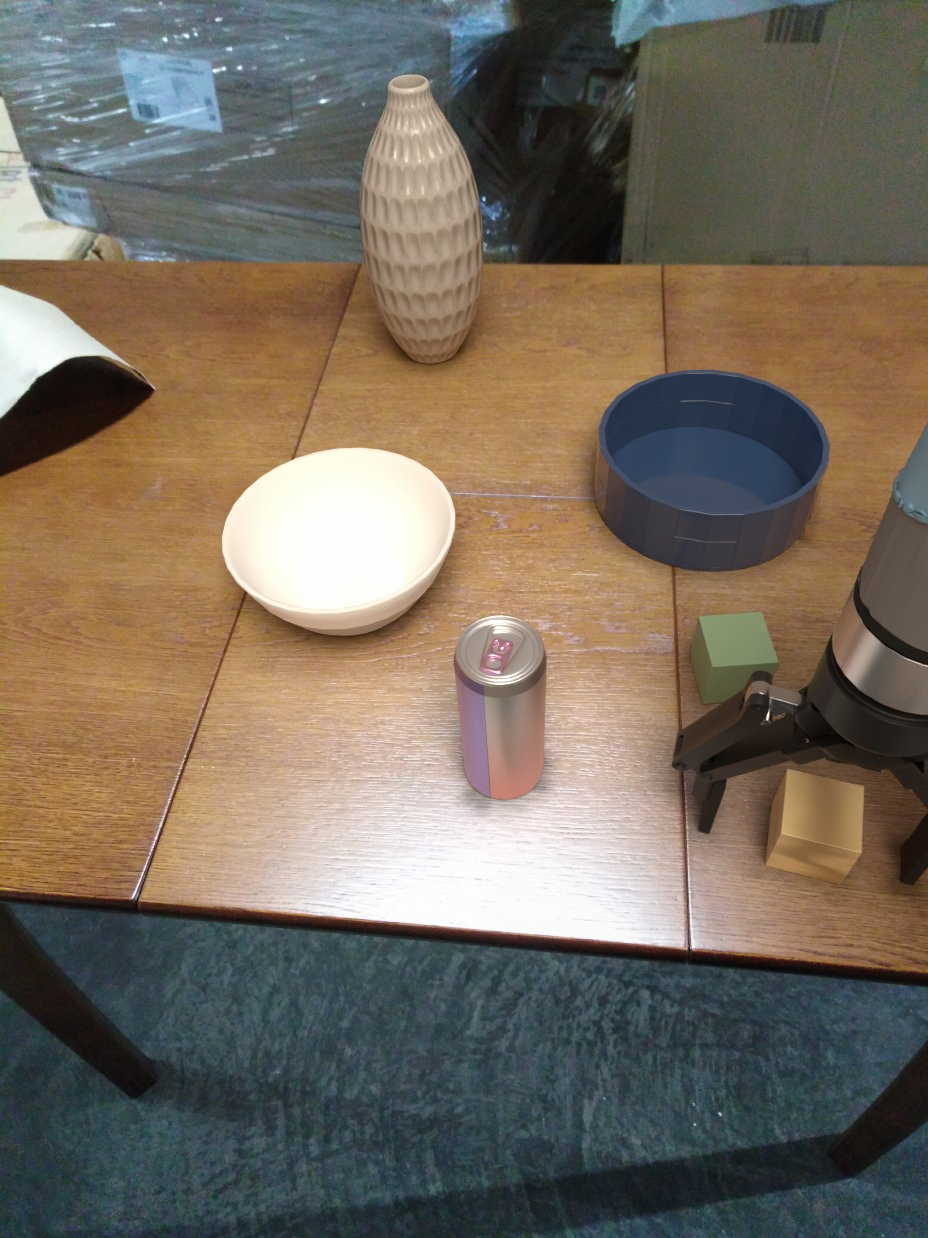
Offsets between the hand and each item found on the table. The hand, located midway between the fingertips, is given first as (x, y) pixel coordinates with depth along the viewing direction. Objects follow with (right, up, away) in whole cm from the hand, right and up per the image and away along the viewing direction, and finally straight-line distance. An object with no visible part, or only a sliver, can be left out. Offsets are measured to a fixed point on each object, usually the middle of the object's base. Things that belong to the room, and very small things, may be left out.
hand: (804, 840), depth 63 cm
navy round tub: (-1, +28, +23) cm, 36 cm away
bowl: (-34, +18, +18) cm, 42 cm away
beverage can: (-21, +4, +5) cm, 22 cm away
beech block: (0, 0, 0) cm, 0 cm away
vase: (-28, +47, +41) cm, 68 cm away
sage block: (-3, +11, +9) cm, 15 cm away
